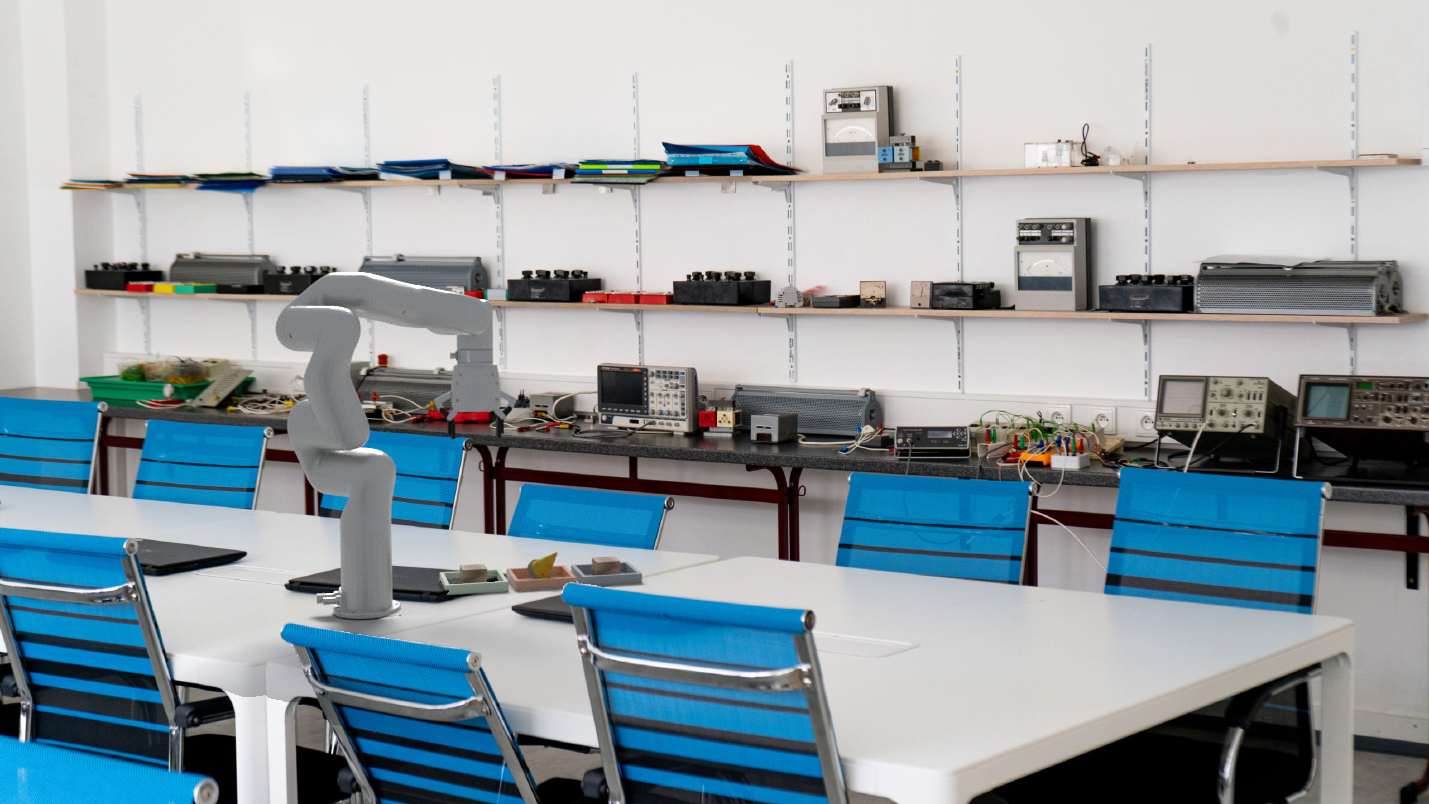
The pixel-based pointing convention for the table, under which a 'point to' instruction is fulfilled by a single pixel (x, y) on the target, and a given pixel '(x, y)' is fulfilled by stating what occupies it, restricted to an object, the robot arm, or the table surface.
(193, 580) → the table surface
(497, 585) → the sage tray
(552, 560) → the mustard yellow cone
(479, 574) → the walnut block
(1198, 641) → the table surface
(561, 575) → the terracotta dish
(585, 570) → the grey tray
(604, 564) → the walnut block
